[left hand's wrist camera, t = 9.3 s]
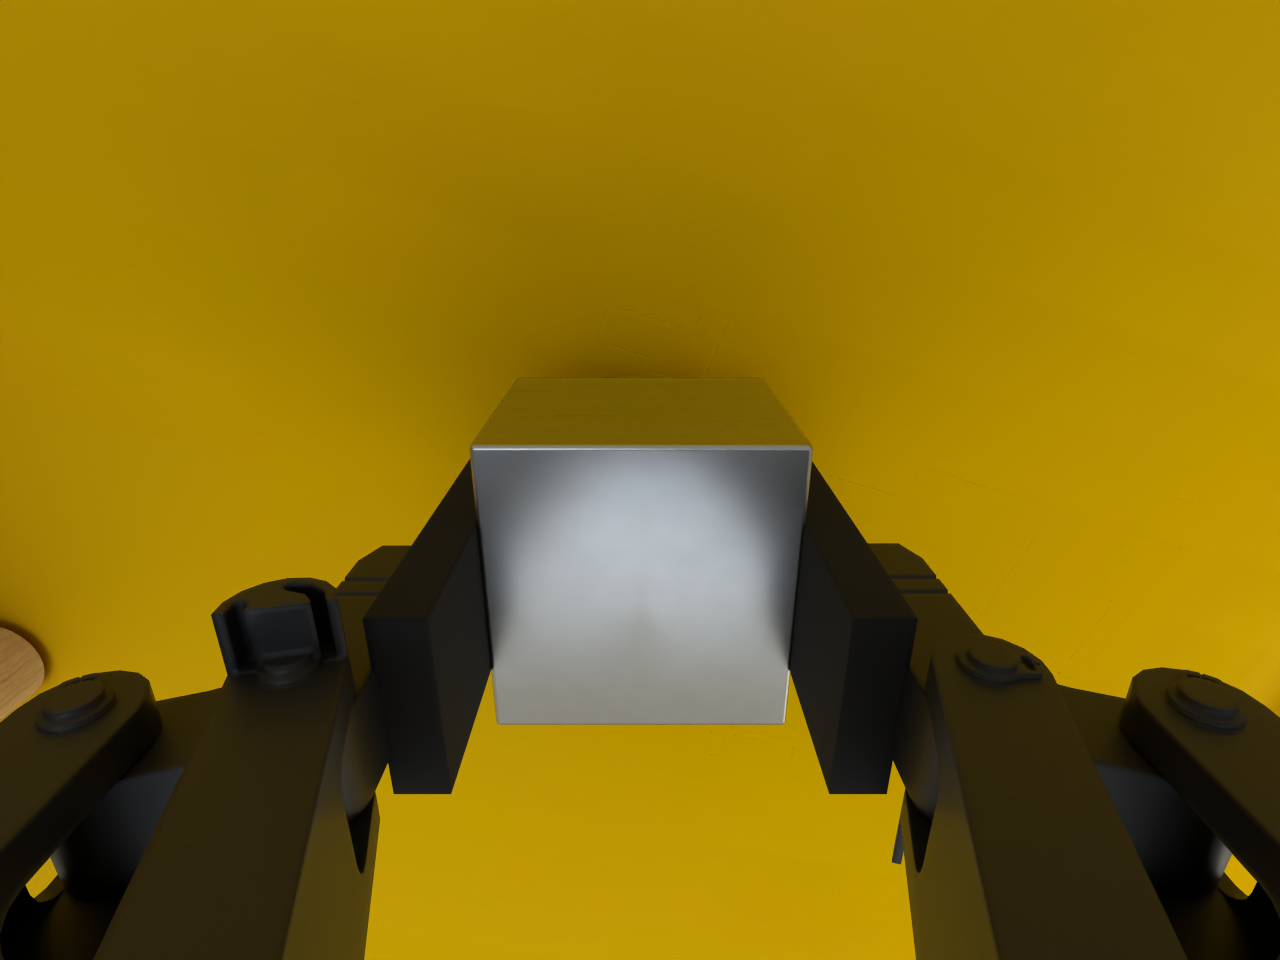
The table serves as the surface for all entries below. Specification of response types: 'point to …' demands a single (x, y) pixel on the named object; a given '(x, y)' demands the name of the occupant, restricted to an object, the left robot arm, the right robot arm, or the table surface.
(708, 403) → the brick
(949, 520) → the table surface
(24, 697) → the planter
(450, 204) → the table surface
